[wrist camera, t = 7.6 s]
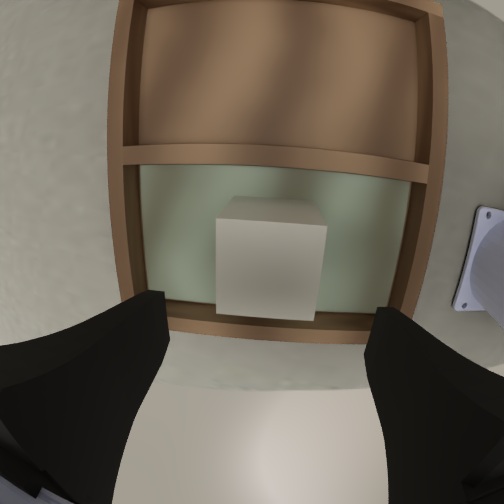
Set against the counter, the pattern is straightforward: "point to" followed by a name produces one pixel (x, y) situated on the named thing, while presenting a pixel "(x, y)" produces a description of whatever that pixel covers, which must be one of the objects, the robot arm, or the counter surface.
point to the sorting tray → (277, 148)
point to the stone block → (269, 258)
